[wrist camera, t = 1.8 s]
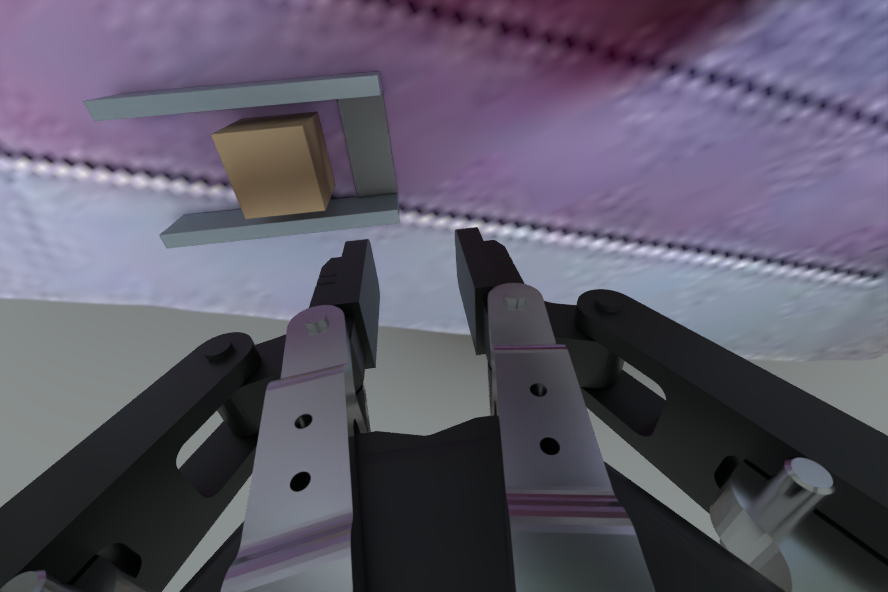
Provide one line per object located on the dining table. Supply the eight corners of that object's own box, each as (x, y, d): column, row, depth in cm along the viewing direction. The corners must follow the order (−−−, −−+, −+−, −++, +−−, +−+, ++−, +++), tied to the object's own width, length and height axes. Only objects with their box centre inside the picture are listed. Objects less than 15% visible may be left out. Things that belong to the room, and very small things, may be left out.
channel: (122, 93, 23) (82, 101, 20) (379, 71, 23) (377, 75, 21) (189, 227, 28) (166, 248, 25) (399, 205, 29) (399, 223, 26)
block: (241, 118, 24) (210, 134, 20) (317, 111, 25) (302, 125, 20) (267, 192, 27) (245, 219, 23) (335, 185, 27) (325, 210, 23)
